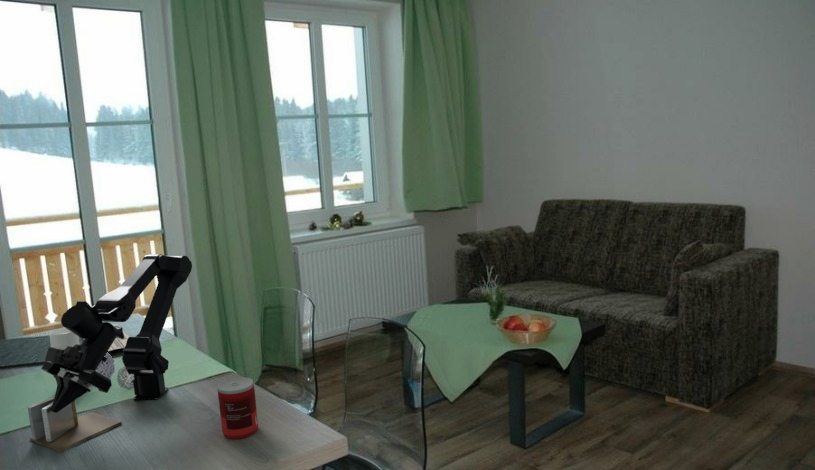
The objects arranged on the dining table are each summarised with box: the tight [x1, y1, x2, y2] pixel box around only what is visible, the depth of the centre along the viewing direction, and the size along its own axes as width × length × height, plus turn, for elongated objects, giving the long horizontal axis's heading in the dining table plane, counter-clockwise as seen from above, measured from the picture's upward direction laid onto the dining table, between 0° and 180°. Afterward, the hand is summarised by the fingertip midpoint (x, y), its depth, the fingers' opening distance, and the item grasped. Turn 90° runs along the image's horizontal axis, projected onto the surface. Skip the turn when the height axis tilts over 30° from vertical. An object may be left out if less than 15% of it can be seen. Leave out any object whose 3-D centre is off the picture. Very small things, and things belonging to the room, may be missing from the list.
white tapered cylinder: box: [49, 327, 80, 349], centre depth 175 cm, size 7×7×15 cm
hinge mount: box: [27, 396, 122, 453], centre depth 145 cm, size 14×12×9 cm
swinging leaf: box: [41, 402, 75, 442], centre depth 143 cm, size 8×1×8 cm, turn 170°
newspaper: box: [82, 323, 130, 353], centre depth 211 cm, size 35×12×4 cm, turn 37°
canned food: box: [217, 376, 259, 440], centre depth 140 cm, size 8×8×11 cm
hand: (53, 411), depth 139 cm, fingers closed
